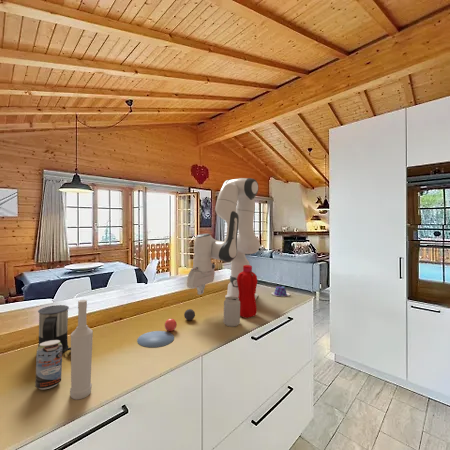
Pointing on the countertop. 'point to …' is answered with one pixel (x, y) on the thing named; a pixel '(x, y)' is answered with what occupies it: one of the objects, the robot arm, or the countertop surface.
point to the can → (231, 311)
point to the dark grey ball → (189, 314)
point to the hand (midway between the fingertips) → (200, 293)
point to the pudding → (280, 291)
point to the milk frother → (54, 325)
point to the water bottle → (247, 292)
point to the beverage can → (48, 364)
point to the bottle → (81, 355)
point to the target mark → (155, 339)
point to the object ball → (170, 324)
